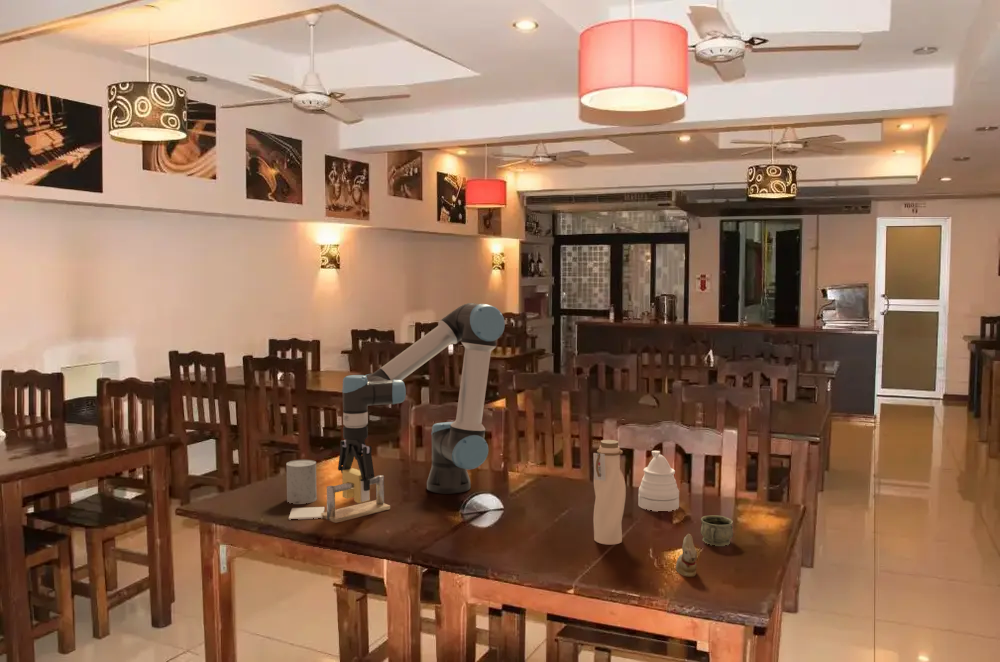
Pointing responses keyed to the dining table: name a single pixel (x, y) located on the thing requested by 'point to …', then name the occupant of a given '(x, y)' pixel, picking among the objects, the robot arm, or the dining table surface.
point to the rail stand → (357, 509)
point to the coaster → (306, 513)
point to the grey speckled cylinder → (301, 481)
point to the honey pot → (658, 486)
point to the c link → (355, 478)
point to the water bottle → (608, 493)
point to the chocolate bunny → (687, 558)
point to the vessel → (716, 530)
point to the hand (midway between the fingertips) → (356, 497)
